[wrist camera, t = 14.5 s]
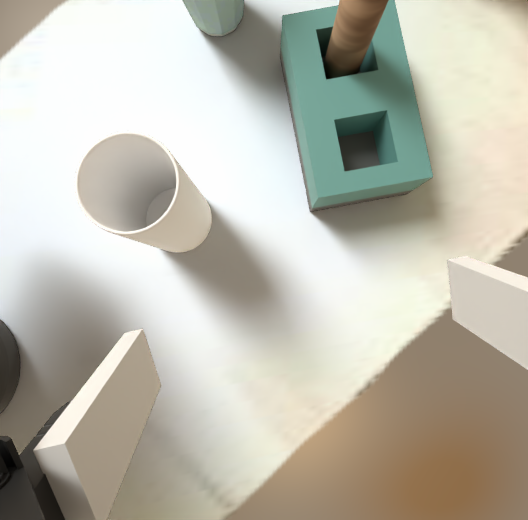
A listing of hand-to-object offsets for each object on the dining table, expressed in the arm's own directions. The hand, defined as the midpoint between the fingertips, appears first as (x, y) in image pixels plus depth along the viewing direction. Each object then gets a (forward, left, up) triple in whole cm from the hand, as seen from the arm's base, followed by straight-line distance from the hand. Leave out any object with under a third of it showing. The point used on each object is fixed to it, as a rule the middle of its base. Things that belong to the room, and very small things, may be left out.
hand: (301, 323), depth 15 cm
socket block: (+12, +20, -28) cm, 36 cm away
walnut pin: (+11, +25, -26) cm, 37 cm away
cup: (-10, +12, -28) cm, 32 cm away
